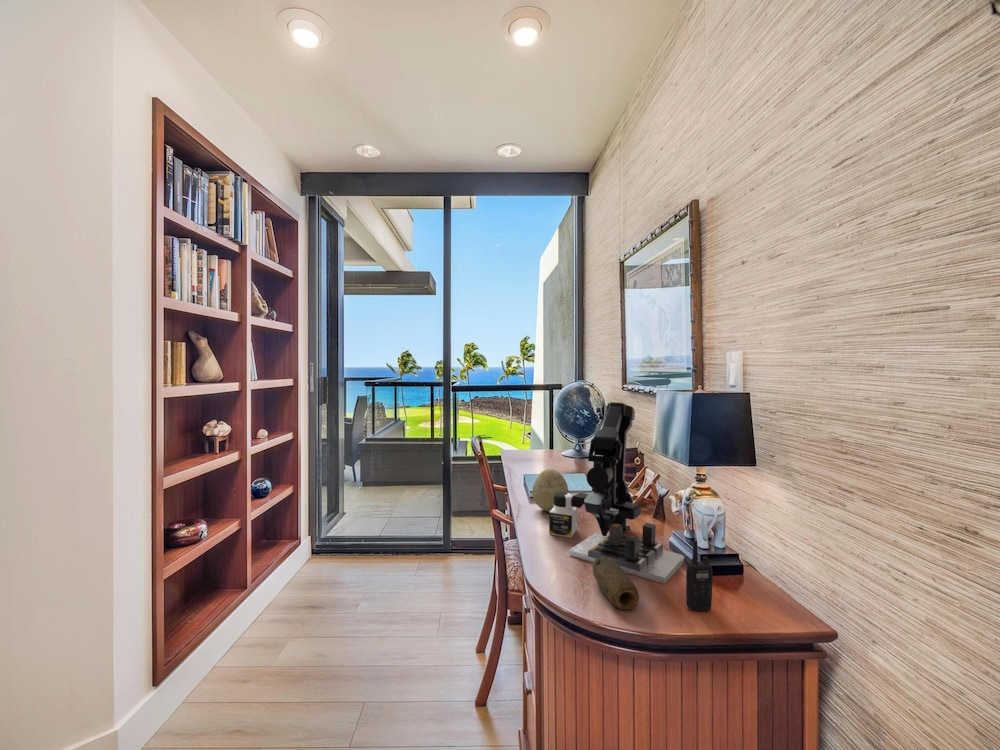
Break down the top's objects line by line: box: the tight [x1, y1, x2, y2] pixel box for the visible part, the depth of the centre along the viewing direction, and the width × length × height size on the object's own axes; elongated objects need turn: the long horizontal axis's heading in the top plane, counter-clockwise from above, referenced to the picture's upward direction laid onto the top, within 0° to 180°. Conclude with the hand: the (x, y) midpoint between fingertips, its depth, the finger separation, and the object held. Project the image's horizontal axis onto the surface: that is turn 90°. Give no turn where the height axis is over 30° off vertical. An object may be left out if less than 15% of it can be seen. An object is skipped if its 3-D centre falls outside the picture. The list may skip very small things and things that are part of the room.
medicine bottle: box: [548, 492, 578, 538], centre depth 143 cm, size 7×7×12 cm
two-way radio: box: [685, 539, 714, 612], centre depth 100 cm, size 6×4×15 cm
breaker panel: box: [568, 522, 684, 584], centre depth 124 cm, size 17×26×8 cm, turn 52°
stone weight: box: [592, 556, 640, 610], centre depth 105 cm, size 15×7×7 cm, turn 12°
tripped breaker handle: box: [608, 523, 624, 546], centre depth 126 cm, size 3×2×5 cm
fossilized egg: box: [532, 468, 569, 512], centre depth 164 cm, size 13×13×15 cm
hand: (604, 535), depth 128 cm, fingers closed
